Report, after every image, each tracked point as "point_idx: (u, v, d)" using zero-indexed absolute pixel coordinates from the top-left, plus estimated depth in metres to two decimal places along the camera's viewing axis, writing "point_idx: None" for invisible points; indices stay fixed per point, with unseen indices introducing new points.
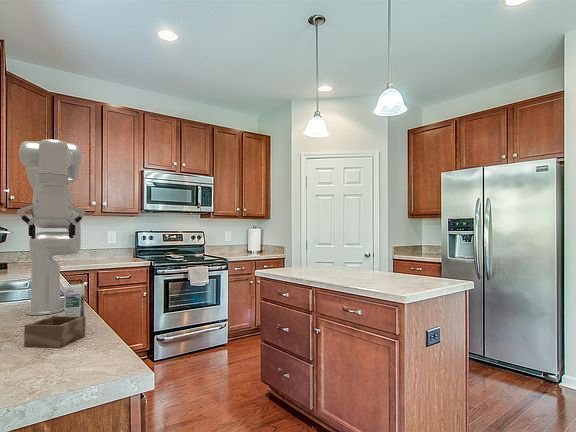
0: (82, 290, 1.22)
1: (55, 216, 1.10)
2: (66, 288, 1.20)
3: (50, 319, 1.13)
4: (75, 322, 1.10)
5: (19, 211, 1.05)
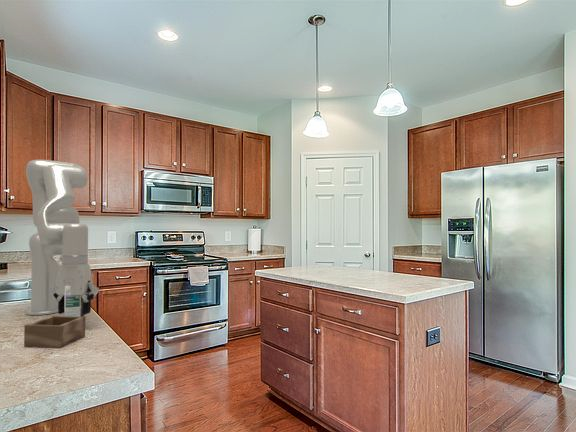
0: None
1: None
2: (66, 288, 1.20)
3: (50, 319, 1.13)
4: (75, 322, 1.10)
5: None
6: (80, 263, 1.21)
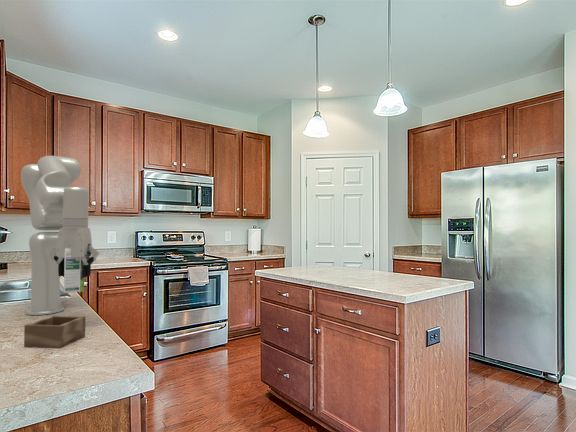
0: None
1: None
2: (66, 250, 1.21)
3: (50, 319, 1.13)
4: (75, 322, 1.10)
5: None
6: (80, 226, 1.22)
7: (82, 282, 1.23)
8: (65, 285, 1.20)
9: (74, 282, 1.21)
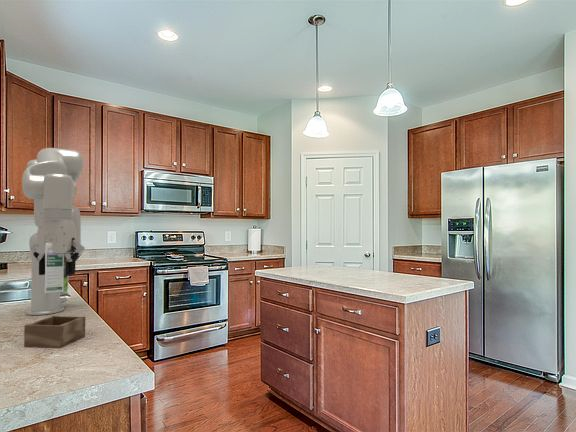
0: None
1: None
2: (47, 245, 1.07)
3: (50, 319, 1.13)
4: (75, 322, 1.10)
5: None
6: (63, 218, 1.08)
7: (66, 281, 1.09)
8: (46, 284, 1.06)
9: (57, 281, 1.07)
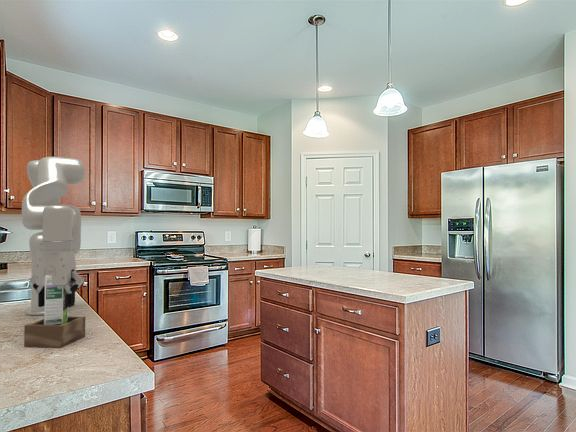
0: None
1: None
2: (47, 277, 1.06)
3: None
4: (75, 322, 1.10)
5: None
6: (63, 249, 1.08)
7: (65, 313, 1.08)
8: (45, 317, 1.06)
9: (56, 313, 1.07)
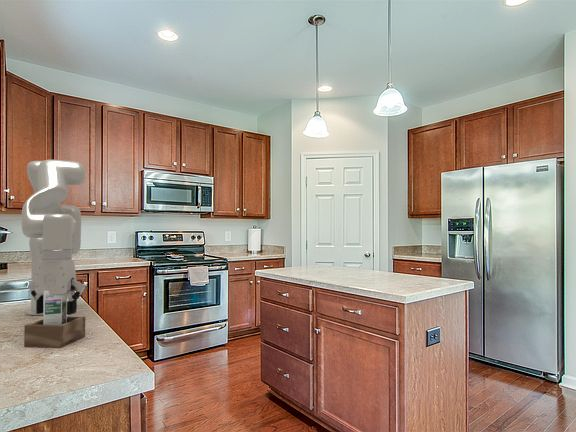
0: (64, 295, 1.09)
1: None
2: (45, 293, 1.07)
3: None
4: (75, 322, 1.10)
5: None
6: (62, 258, 1.08)
7: None
8: None
9: None
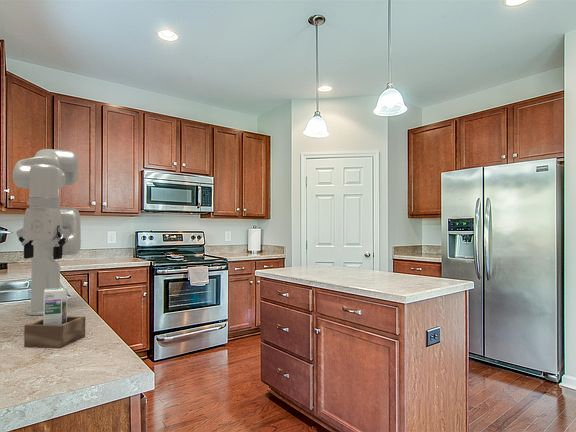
0: (64, 295, 1.09)
1: None
2: (45, 293, 1.07)
3: None
4: (75, 322, 1.10)
5: None
6: (49, 206, 1.14)
7: None
8: None
9: None
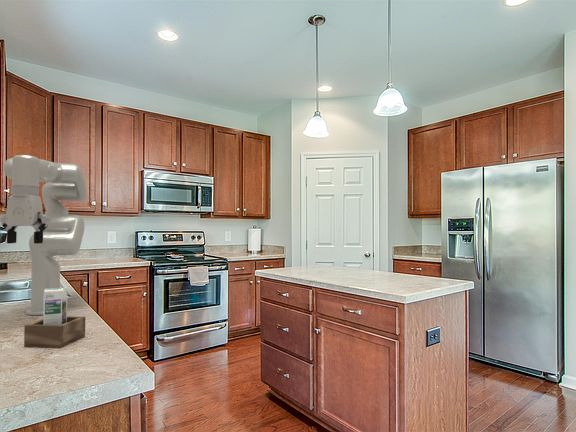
0: (64, 295, 1.09)
1: None
2: (45, 293, 1.07)
3: None
4: (75, 322, 1.10)
5: None
6: (30, 194, 1.22)
7: None
8: None
9: None
